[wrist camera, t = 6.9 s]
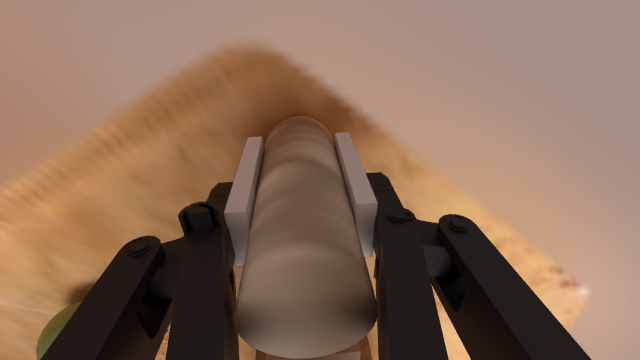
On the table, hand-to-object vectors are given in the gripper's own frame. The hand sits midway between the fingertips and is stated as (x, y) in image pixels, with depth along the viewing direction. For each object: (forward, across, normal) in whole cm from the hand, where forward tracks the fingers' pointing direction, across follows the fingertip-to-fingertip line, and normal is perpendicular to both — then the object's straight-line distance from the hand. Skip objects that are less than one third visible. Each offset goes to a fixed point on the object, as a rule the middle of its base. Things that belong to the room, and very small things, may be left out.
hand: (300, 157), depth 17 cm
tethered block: (+1, 0, -8) cm, 8 cm away
